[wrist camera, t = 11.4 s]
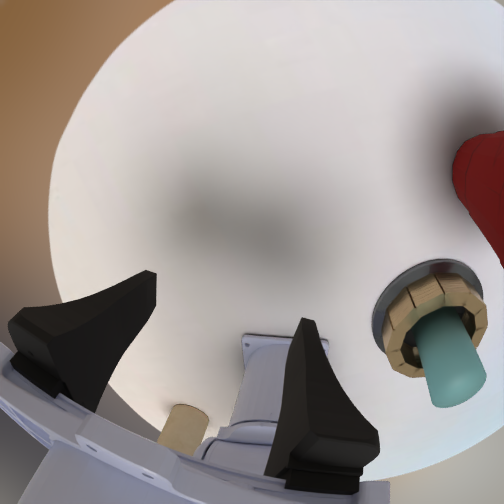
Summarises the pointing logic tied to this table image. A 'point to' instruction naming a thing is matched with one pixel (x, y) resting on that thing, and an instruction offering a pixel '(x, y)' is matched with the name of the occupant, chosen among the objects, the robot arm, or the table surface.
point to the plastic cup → (483, 185)
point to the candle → (184, 429)
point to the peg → (448, 357)
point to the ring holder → (426, 309)
